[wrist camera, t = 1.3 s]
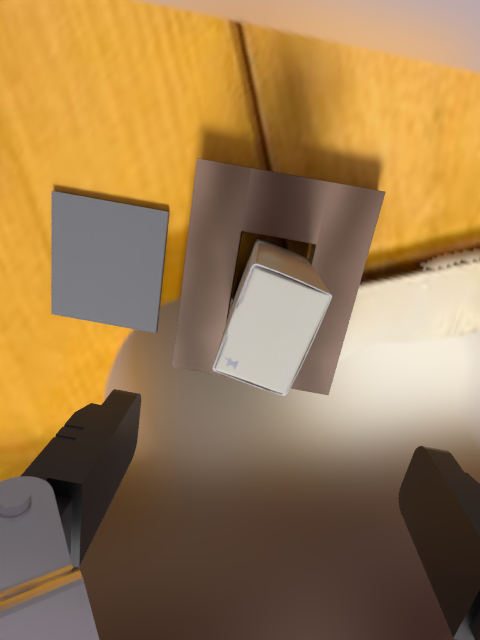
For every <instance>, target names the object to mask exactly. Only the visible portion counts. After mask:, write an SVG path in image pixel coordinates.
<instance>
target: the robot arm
mask: <svg viewBox="0 0 480 640" xmlns="http://www.w3.org/2000/svg"><path fill="white" fill-rule="evenodd" d="M140 406H141V395H140V394H137V393H132V392H126V391H121V390H113V391H112V392H111V393H110V395H109V396H108V397H107V399H106V400H105V401H104V403H103V404H102V405H98V404H92V403H91V404H89V405H87V406H85V407H84V408H82V409H80V410H78V411H76V412H75V413H74V414H73V415H72V416H71V418H70V419H69V420H68V421H67V422H66V423H65V426H64V427H62V428H61V429H60V430H59V432H58V433H57V434H56V437H54V438H53V439H52V440H51V441H50V442H49V443H48V445H47V446H46V447H45V448H44V449H43V450H42V452H41V453H40V454H39V455H38V456H37V458H36V459H35V460H34V461H33V462H32V463H31V465H30V466H29V467H28V468H27V469H26V470H25V472H24V473H23V474H22V475H21V476H20V477H15V478H10V479H7V480H4V481H2V482H0V640H99V637H98V634H97V630H96V626H95V622H94V619H93V615H92V611H91V607H90V603H89V600H88V596H87V592H86V588H85V585H84V581H83V578H82V575H81V572H80V570H79V569H78V568H75V569H73V566H76V567H80V565H81V562H82V560H83V558H84V556H85V554H86V552H87V550H88V548H89V546H90V544H91V542H92V540H93V538H94V536H95V534H96V532H97V530H98V528H99V526H100V524H101V522H102V520H103V518H104V516H105V514H106V512H107V510H108V508H109V505H110V503H111V502H112V499H113V498H114V495H115V493H116V491H117V489H118V487H119V485H120V483H121V481H122V479H123V477H124V475H125V473H126V471H127V469H128V467H129V464H130V463H131V461H132V458H133V456H134V452H135V449H136V445H137V438H138V428H139V417H140ZM399 507H400V511H401V514H402V516H403V519H404V521H405V523H406V526H407V528H408V531H409V533H410V535H411V538H412V540H413V543H414V545H415V547H416V550H417V552H418V555H419V557H420V559H421V562H422V564H423V567H424V569H425V571H426V574H427V576H428V579H429V581H430V583H431V586H432V588H433V591H434V593H435V596H436V598H437V600H438V603H439V605H440V608H441V610H442V612H443V615H444V617H445V620H446V622H447V624H448V627H449V629H450V631H451V634H452V636H453V638H454V639H459V640H480V484H479V483H478V482H477V481H476V480H474V479H473V478H472V477H471V476H470V475H469V474H468V473H465V472H464V471H463V470H462V469H461V467H460V466H459V464H458V463H457V461H456V460H455V459H454V457H453V456H452V454H451V453H450V452H448V451H445V450H440V449H434V448H429V447H423V446H419V447H418V448H417V449H416V450H415V452H414V454H413V457H412V459H411V462H410V464H409V467H408V469H407V472H406V474H405V477H404V480H403V482H402V485H401V488H400V491H399Z"/></svg>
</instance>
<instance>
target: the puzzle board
mask: <svg viewBox="0 0 480 640" xmlns="http://www.w3.org/2000/svg"><path fill="white" fill-rule="evenodd" d="M384 195H385V192H384V191H378V190H372V189H367V188H361V187H355V186H350V185H344V184H339V183H333V182H327V181H322V180H316V179H311V178H305V177H299V176H294V175H288V174H282V173H277V172H271V171H266V170H260V169H254V168H249V167H243V166H237V165H232V164H226V163H221V162H215V161H209V160H204V159H198V158H197V165H196V174H195V182H194V190H193V199H192V207H191V215H190V224H189V232H188V240H187V249H186V257H185V265H184V274H183V282H182V290H181V299H180V308H179V315H178V324H177V332H176V340H175V349H174V357H173V365H172V366H173V367H177V368H183V369H188V370H193V371H199V372H204V373H210V374H216V375H220V376H226V375H224V374H221V373H218V372H215V371H213V369H212V367H213V364H214V361H215V357H216V354H217V351H218V348H219V344H220V341H221V338H222V335H223V332H224V329H225V326H226V322H227V319H228V314H229V308H230V302H231V296H232V290H233V284H234V278H235V272H236V266H237V260H238V254H239V248H240V242H241V236H242V231H245V232H251V233H256V234H262V235H267V236H273V237H279V238H284V239H290V240H295V241H301V242H306V243H312V249H311V253H310V258H309V262H310V264H311V265H312V267H313V268H314V269H315V271H316V272H317V274H318V275H319V277H320V278H321V280H322V281H323V283H324V284H325V286H326V287H327V288H328V290H329V291H330V293H331V294H332V299H331V301H330V303H329V306H328V308H327V311H326V313H325V315H324V318H323V320H322V323H321V325H320V327H319V329H318V332H317V334H316V336H315V339H314V341H313V343H312V345H311V347H310V349H309V352H308V354H307V356H306V358H305V360H304V362H303V364H302V367H301V369H300V371H299V373H298V375H297V377H296V378H295V380H294V382H293V384H292V386H291V388H292V389H297V390H302V391H308V392H313V393H320V394H325V395H329V391H330V387H331V384H332V380H333V377H334V373H335V370H336V366H337V363H338V359H339V356H340V352H341V349H342V345H343V341H344V338H345V334H346V331H347V327H348V324H349V320H350V316H351V313H352V309H353V306H354V302H355V299H356V295H357V292H358V288H359V284H360V281H361V277H362V274H363V270H364V267H365V263H366V260H367V256H368V252H369V249H370V245H371V242H372V238H373V235H374V231H375V227H376V224H377V220H378V217H379V213H380V210H381V206H382V203H383V199H384ZM227 377H228V376H227Z"/></svg>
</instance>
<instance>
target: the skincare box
mask: <svg viewBox="0 0 480 640" xmlns="http://www.w3.org/2000/svg"><path fill="white" fill-rule="evenodd" d="M331 299H332V294H331V293H330V291H329V290H328V288H327V287H326V286H325V284H324V283H323V281H322V280H321V278H320V277H319V275H318V274H317V272H316V271H315V269H314V268H313V267H312V265H311V264H310V262H309V261H308V259H307V258H306V257H304V256H301V255H299V254H297V253H295V252H292V251H290V250H287V249H285V248H283V247H280V246H278V245H275V244H273V243H270V242H267V241H265V240H262V239H257V240H256V242H255V245H254V247H253V250H252V252H251V254H250V257H249V259H248V262H247V264H246V267H245V269H244V272H243V275H242V278H241V280H240V283H239V286H238V288H237V291H236V294H235V297H234V300H233V303H232V306H231V310H230V313H229V316H228V319H227V322H226V326H225V329H224V332H223V335H222V338H221V341H220V344H219V348H218V351H217V354H216V357H215V361H214V364H213V367H212V369H213V371H215V372H218V373H221V374H224V375H226V376H228V377H231V378H234V379H236V380H239V381H242V382H245V383H247V384H250V385H252V386H255V387H258V388H261V389H263V390H266V391H269V392H273V393H276V394H279V395H283V396H285V395H286V394H287V393H288V391H289V389H290V388H291V386H292V384H293V382H294V380H295V378H296V377H297V375H298V373H299V371H300V369H301V367H302V364H303V362H304V360H305V358H306V356H307V354H308V352H309V349H310V347H311V345H312V343H313V341H314V339H315V336H316V334H317V332H318V329H319V327H320V325H321V323H322V320H323V318H324V315H325V313H326V311H327V308H328V306H329V303H330V301H331Z"/></svg>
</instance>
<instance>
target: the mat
mask: <svg viewBox="0 0 480 640" xmlns="http://www.w3.org/2000/svg"><path fill="white" fill-rule="evenodd" d="M168 221H169V211H164V210H158V209H153V208H147V207H141V206H136V205H130V204H125V203H119V202H113V201H108V200H102V199H97V198H91V197H86V196H80V195H74V194H69V193H63V192H58V191H52V314H54V315H60V316H65V317H71V318H76V319H82V320H87V321H93V322H98V323H104V324H109V325H115V326H120V327H126V328H131V329H137V330H142V331H148V332H153V333H156V332H157V329H158V320H159V310H160V300H161V290H162V280H163V270H164V261H165V251H166V241H167V231H168Z"/></svg>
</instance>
